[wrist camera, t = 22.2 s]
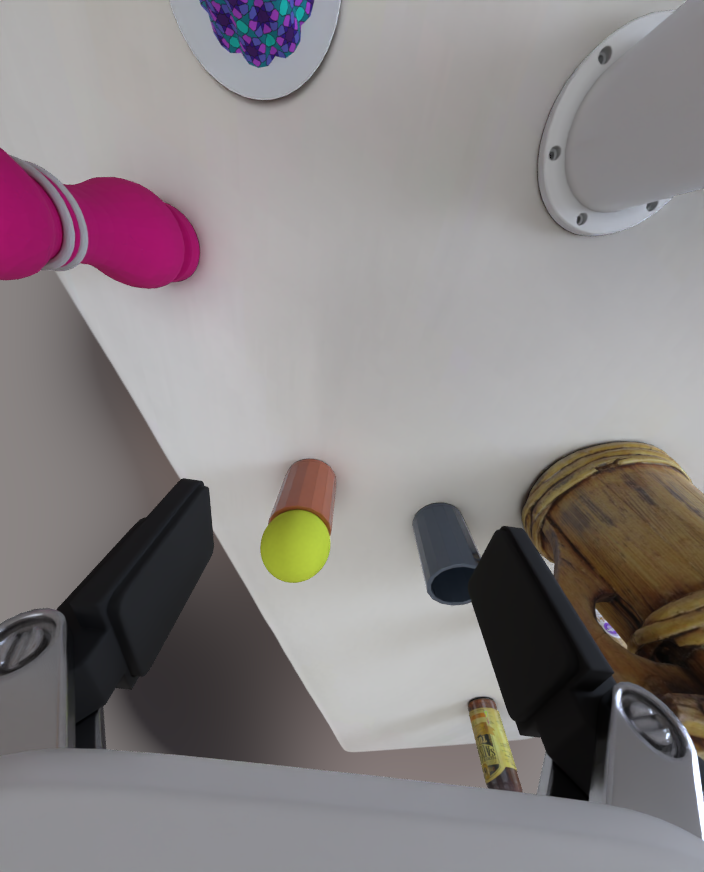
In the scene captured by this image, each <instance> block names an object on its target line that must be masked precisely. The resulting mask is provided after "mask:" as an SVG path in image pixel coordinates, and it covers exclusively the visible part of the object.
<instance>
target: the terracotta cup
mask: <svg viewBox="0 0 704 872" xmlns="http://www.w3.org/2000/svg"><path fill="white" fill-rule="evenodd" d="M335 492H336V476H335V474H334V472H333V470H332V469H331V468H330V467H329V466H328V465H327V464H325V463H324V462H322V461H319V460H315V459H304V460H300V461H298V462H296V463H294V464H293V465H292V466H291V467H290V468H289V469H288V471H287V473H286V475H285V478H284V481H283V483H282V486H281V489H280V492H279V494H278V497H277V500H276V502H275V505H274V508H273V510H272V513H271V516H270V518H269V523H270V522H271V521H272V520H273V519H274V518H275V517H277V516H278V515H280V514H282V513H284V512H286V511H290V510H305V511H309V512H311V513H313V514H315V515H316V516H318V517H319V518H320V519H321V520H322V521H323V523H324V524H325V526H326V528H327V530H328V532H329V536H330V535H331V530H332V520H333V511H334V501H335ZM269 523H268V525H269Z"/></svg>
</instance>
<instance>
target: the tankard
mask: <svg viewBox="0 0 704 872" xmlns="http://www.w3.org/2000/svg"><path fill="white" fill-rule="evenodd" d="M522 522H523V526H524V529H525V532H526V533H527V534H528V536H529V538H530V539H531V541H532V542H533V544H534V546H535V547H536V549H537V550H538V552H539V553H541V554H542V555H543V556H544V557H545V558H546V559H547V560H549V561H550V562H552V563H555V565H554V575H553V576H554V577H555V579H556V580H557V582H558V584H559V585H560V587H561V588H562V590H563V592H564V593H565V595H566V596H567V598H568V600H569V601H570V603H571V604H572V606H573V607H574V609H575V611H576V612H577V614H578V615H579V617H580V619H581V620H582V622H583V623H584V625H585V626H586V628H587V630H588V631H589V633H590V634H591V636H592V638H593V639H594V641H595V642H596V644H597V646H598V647H599V649H600V650H601V652H602V653H603V655H604V657H605V658H606V660H607V661H608V663H609V665H610V666H611V668H612V669H613V671H614V672H615V673H614V674H613V675H612V676H613V678H614V680H615V681H616V683H619V682H631V683H633V684H636V685H639V686H641V687H642V688H644V689H646V690H648V691H649V692H651V693H652V694H653V695H655V696H656V697H657V698H658V699H660V700H661V701H662V702H663V703H664V704H665V705H666V706H667V707H668V708H669V709H670V710H671V711H672V712H673V713H674V714H675V715H676V716H677V718H678V719H679V720H680V721H681V723H682V724H683V725H684V727H685V728H686V730H687V732H688V733H689V735H690V737H691V739H692V741H693V743H694V746H695V749H696V753H697V755H698V756H699V757H700V758H701V759H703V760H704V494H703V493H702V492H701V491H700V490H699V489H697V488H696V487H695V486H694V485H693V484H692V481H691V479H690V478H689V476H688V475H687V474H686V473H685V471H684V470H682V468H681V467H680V466H679V465H678V464H677V463H676V462H675V461H674V460H673V459H672V458H671V457H669V456H668V455H667V454H666V453H665V452H664V451H663V450H660V449H658V448H656V447H654V446H653V445H648V444H645V443H638V442H614V443H607V444H602V445H598V446H593V447H590V448H586V449H582V450H579V451H577V452H575V453H573V454H571V455H569V456H567V457H565V458H563V459H561V460H559V461H558V462H556V463H555V464H554V465H553V466H551V467H550V468H549V469H548V470H547V471H546V472H545V473H543V475H542V476H541V477H540V478H539V479H538V481H537V482H536V483H535V485H534V486H533V488H532V490H531V492H530V493H529V497H528V500H527V502H526V504H525V506H524V508H523V511H522ZM595 608H596V609H597V611H598V612H599V613H600V614H601V615H602V617H603V618H604V619H605V620H606V621H607V622H608V623H609V625H610V626H611V627H612V628H613V629H614V630H615V631H616V633H617V634H618V635H619V636H620V637H621V638H622V640H623V641H624V642H625V643H626V644H627V649H626V648H624V647H623V646H621V645H620V644H619V643H617V642H616V641H614V640H613V639H612V638H611V637H610V636H609V635H608V634H607V633H606V632H605V630H604V629H603V628H602V627H601V625H600V624H599V623H598V621H597V617H596V610H595Z"/></svg>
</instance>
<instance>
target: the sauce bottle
mask: <svg viewBox="0 0 704 872" xmlns="http://www.w3.org/2000/svg"><path fill="white" fill-rule="evenodd" d="M468 709H469V716H470V720H471V724H472V728H473V732H474V736H475V740H476V745H477V749H478V753H479V757H480V761H481V765H482V769H483V773H484V778H485V782H486V784H487V787H488V789H497V790H505V791H514V792H522V788H521V784H520V781H519V778H518V774H517V769H516V766H515V763H514V760H513V756H512V753H511V750H510V747H509V744H508V740H507V737H506V734H505V731H504V727H503V724H502V721H501V718H500V714H499V712H498V711H497V707H496V704H495V702H494V701H493V700H491V699H487V698H480V699H475V700H473V701H471V702H470V703H469V705H468Z"/></svg>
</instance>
